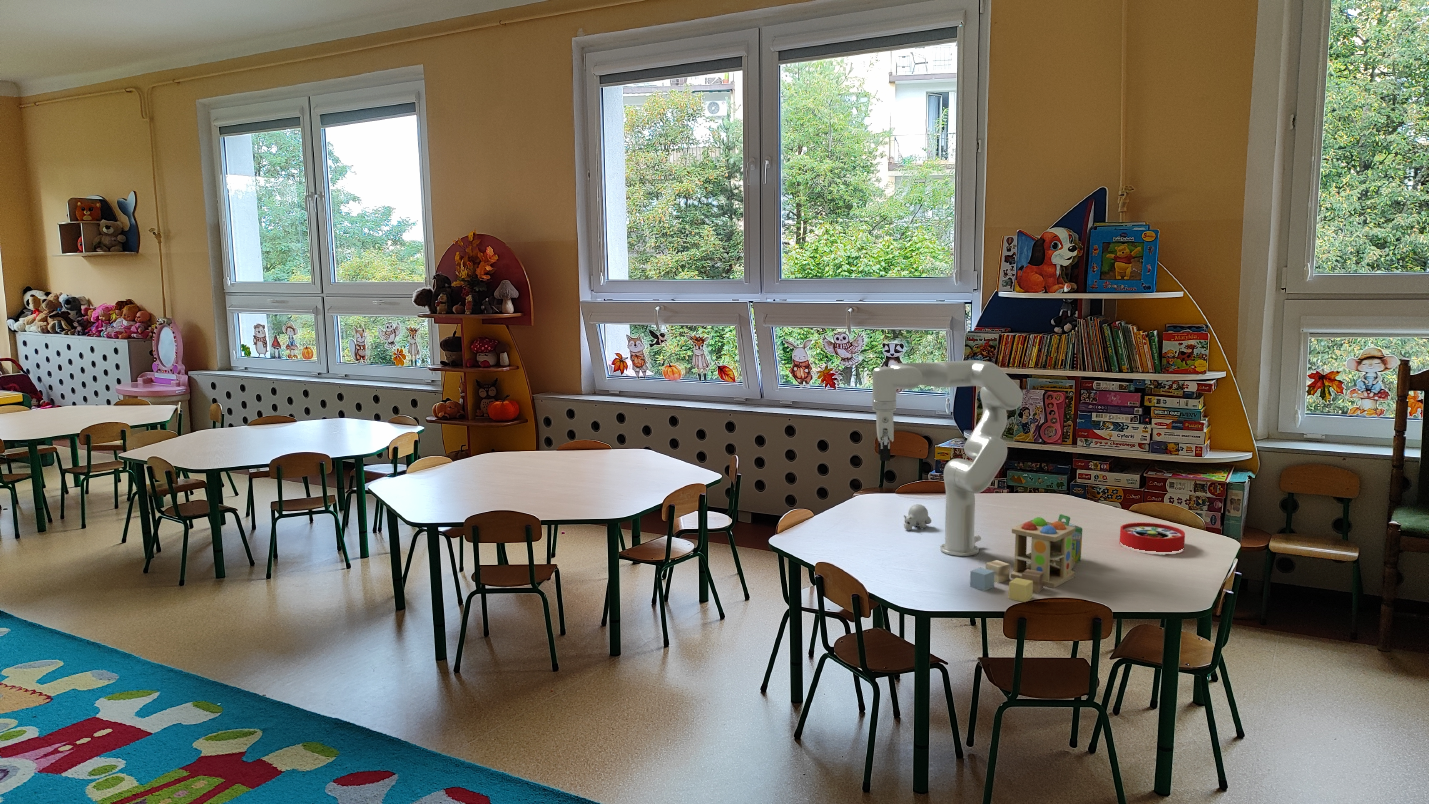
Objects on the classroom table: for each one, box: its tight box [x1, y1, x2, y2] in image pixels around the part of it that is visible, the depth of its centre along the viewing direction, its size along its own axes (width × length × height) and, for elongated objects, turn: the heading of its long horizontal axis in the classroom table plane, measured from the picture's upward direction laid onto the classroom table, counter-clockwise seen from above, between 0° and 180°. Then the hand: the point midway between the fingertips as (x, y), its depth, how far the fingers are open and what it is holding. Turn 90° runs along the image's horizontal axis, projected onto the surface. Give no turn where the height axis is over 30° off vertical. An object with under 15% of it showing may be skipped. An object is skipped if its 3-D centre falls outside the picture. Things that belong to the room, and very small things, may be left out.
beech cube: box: [985, 559, 1011, 584], centre depth 286 cm, size 5×5×5 cm
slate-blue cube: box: [969, 567, 995, 592], centre depth 279 cm, size 5×5×5 cm
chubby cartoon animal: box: [903, 503, 932, 531], centre depth 343 cm, size 7×12×8 cm, turn 125°
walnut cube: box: [1022, 569, 1045, 594], centre depth 277 cm, size 5×5×5 cm
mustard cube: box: [1008, 578, 1034, 603], centre depth 269 cm, size 5×5×5 cm
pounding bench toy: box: [1010, 516, 1076, 589], centre depth 289 cm, size 23×14×18 cm, turn 134°
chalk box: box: [1054, 514, 1083, 564], centre depth 303 cm, size 9×9×15 cm
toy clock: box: [1119, 522, 1186, 552], centre depth 317 cm, size 20×6×20 cm
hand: (884, 457), depth 302 cm, fingers open, 9 cm apart
